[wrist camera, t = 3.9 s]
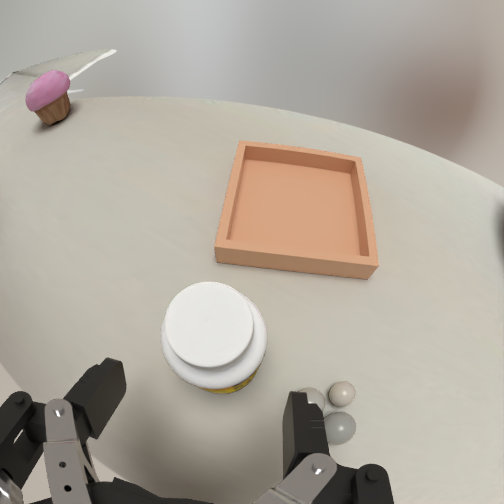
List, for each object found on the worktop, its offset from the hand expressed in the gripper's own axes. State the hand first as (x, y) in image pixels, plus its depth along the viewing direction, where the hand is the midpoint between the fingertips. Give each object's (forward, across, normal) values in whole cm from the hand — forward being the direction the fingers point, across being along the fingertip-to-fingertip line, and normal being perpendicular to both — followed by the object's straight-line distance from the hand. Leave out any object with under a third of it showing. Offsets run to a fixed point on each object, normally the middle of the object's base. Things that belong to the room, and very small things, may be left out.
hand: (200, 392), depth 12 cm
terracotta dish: (+19, -5, -7) cm, 21 cm away
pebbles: (+6, -8, +6) cm, 12 cm away
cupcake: (+31, +37, -19) cm, 52 cm away
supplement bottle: (+8, 0, +4) cm, 9 cm away
